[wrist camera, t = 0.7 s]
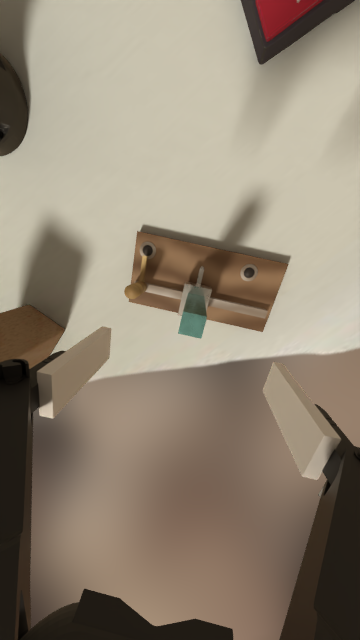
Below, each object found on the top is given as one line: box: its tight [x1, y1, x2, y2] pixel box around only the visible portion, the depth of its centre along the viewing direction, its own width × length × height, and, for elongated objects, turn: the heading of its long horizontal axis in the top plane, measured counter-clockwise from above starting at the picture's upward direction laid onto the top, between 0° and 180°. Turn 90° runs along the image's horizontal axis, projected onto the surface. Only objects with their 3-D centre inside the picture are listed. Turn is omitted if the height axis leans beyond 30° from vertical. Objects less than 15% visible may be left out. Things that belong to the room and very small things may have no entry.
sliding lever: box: [178, 266, 212, 338], centre depth 31 cm, size 9×5×16 cm, turn 168°
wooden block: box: [0, 305, 64, 369], centre depth 38 cm, size 10×10×20 cm
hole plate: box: [125, 231, 288, 332], centre depth 36 cm, size 14×29×9 cm, turn 78°
